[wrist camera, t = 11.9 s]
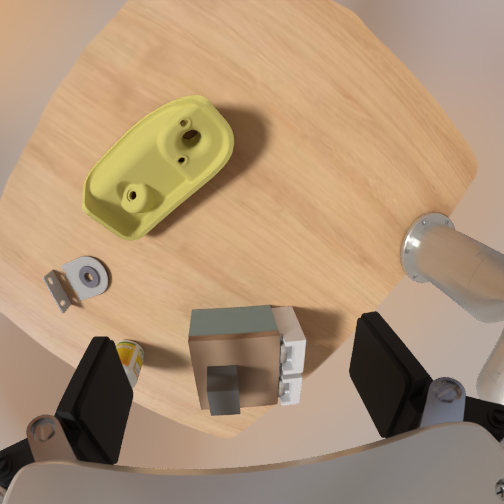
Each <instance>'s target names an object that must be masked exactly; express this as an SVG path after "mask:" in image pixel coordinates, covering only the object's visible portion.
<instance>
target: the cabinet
mask: <svg viewBox="0 0 504 504" xmlns="http://www.w3.org/2000/svg"><path fill="white" fill-rule="evenodd" d="M277 330H279V333H280V342H284V345H285V347H288V352H287V362H286V363H280V362H279V378H280V377H281V378H282V381H283V383H285V394H284V395H283V396H279V395H278V397H280V401H281V405H282V406H283V405H291V404H298V403H299V400H300V392H301V384H302V375H301V373H303V367H304V357H305V348H306V338H305V336H304V333H303V331H302V329H301V326H300V324H299V322H298V319H297V317H296V315H295V313H294V310H293V308H292V306H288V307H276V308H271V306H270V305H266V306H252V307H236V308H219V309H199V310H192V314H191V321H190V329H189V336H205V335H225V334H240V333H254V332H266V331H277ZM189 336H188V337H189Z"/></svg>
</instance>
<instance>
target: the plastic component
mask: <svg viewBox="0 0 504 504" xmlns="http://www.w3.org/2000/svg"><path fill="white" fill-rule="evenodd" d="M182 120H183V121H184V122H183V123H181V124H180V122H181V121H182ZM190 130H196V131H198V132H197V134H196V136H194V137H193V138H191V139H184V138H182V136H183V135H184V134H185V133H186V132H187V131H190ZM233 148H234V136H233V132H232V129H231V127H230V126H229V124H228V122H227V121H226V120H225V119H224V118H223V116H222V115H221V114H220V113H219V112H218V111H217V110H216V109H215V107H214V106H213V105H212V104H211V103H210V102H209V101H208V100H207V99H206V98H204V97H203V96H200V95H192V96H186V97H182V98H179V99H176V100H174V101H171V102H169V103H167V104H165V105H163V106H161V107H159V108H157V109H156V110H154V111H152V112H151V113H149V114H148V115H147V116H145V117H144V118H142V119H141V120H140V121H139V122H137V123H136V124H135V125H134V126H133V127H131V128H130V129H129V130H128V131H127V132H126V133H125V134H124V135H123V136H122V137H121V138H120V139H119V140H118V141H117V142H116V143H115V144H114V145H113V146H112V147H111V148H110V149H109V150H108V151H107V152H106V153H105V155H104V156H103V157H102V158H101V159H100V160H99V161H98V162H97V163H96V164H95V165H94V166H93V168H92V169H91V171H90V172H89V174H88V176H87V177H86V180H85V182H84V185H83V197H82V208H83V210H84V212H85V213H86V214H87V215H88V216H90V217H91V218H93V219H94V220H95V221H97V222H98V223H100V224H101V225H102V226H104V227H105V228H107V229H108V230H109V231H111V232H112V233H114V234H115V235H117V236H118V237H120V238H121V239H124V240H137V239H140V238H142V237H143V236H145V235H146V234H147V233H148V232H149V231H150V230H151V229H152V228H154V227H155V226H156V225H157V224H158V223H159V222H160V221H162V220H163V219H164V218H165V217H166V216H167V215H168V214H170V213H171V212H172V211H173V210H174V209H175V208H177V207H178V206H179V205H180V204H181V203H183V202H184V201H185V200H186V199H187V198H189V197H190V196H191V195H192V194H193V193H195V192H196V191H197V190H198V189H199V188H201V187H202V186H203V185H204V184H205V183H207V182H208V181H209V180H210V179H211V178H213V177H214V176H215V175H216V174H217V173H218V172H219V171H220V170H221V169H222V168H223V167H224V166H225V164H226V163H227V162H228V160H229V159H230V157H231V155H232V152H233ZM181 157H183V158H185V160H184V161H183V162H179V161H178V159H179V158H181ZM134 191H135V192H136V198H135V199H134V200H133V199H132V197H131V195H132V193H133V192H134Z"/></svg>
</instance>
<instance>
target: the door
mask: <svg viewBox="0 0 504 504" xmlns="http://www.w3.org/2000/svg"><path fill="white" fill-rule="evenodd" d="M188 343H189V349H190V355H191V360H192V366H193V371H194V376H195V381H196V386H197V391H198V396H199V401H200V406H201V410H205V409H210V413H211V416H215V415H234V414H240V408H243V407H255V406H265V405H275V404H277V402H278V395H279V396H283V395H284V394H285V383H283V381H282V378H281V377H280V378H279V362H280V363H286V362H287V352H288V347H285V345H284V342H280V333H279V330H277V331H266V332H254V333H240V334H225V335H205V336H189V339H188Z"/></svg>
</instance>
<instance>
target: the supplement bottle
mask: <svg viewBox="0 0 504 504" xmlns="http://www.w3.org/2000/svg"><path fill="white" fill-rule="evenodd" d="M116 349H117V351H118V354H119V357H120V359H121V362H122V365H123V367H124V370H125V372H126V375H127V377H128V380H129V382H130V385H131V387H132V388H133V387H134V386H135V385H136V383H137V380H138V377H139V373H140V370H141V366H142V363H143V360H144V351H143V349H142V348H141V346H140V345H139V344H137V343H136V342H134V341H130V340H122V341H120V342H118V343H117V344H116Z"/></svg>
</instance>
